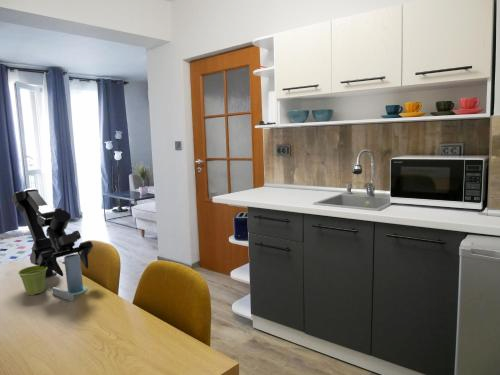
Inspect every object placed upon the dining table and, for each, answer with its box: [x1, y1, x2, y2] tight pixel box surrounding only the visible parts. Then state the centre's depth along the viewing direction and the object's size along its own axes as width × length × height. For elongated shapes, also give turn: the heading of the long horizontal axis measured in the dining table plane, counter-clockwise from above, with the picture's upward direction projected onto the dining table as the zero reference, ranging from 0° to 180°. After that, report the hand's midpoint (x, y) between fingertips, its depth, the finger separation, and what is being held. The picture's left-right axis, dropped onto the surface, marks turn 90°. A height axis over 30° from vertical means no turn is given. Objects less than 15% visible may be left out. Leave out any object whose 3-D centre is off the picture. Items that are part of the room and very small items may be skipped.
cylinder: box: [63, 253, 84, 293], centre depth 139 cm, size 5×5×13 cm
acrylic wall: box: [51, 286, 75, 302], centre depth 134 cm, size 12×1×2 cm, turn 56°
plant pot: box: [17, 265, 47, 296], centre depth 139 cm, size 9×9×9 cm
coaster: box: [64, 285, 88, 296], centre depth 139 cm, size 8×8×1 cm
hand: (75, 271), depth 137 cm, fingers open, 9 cm apart
